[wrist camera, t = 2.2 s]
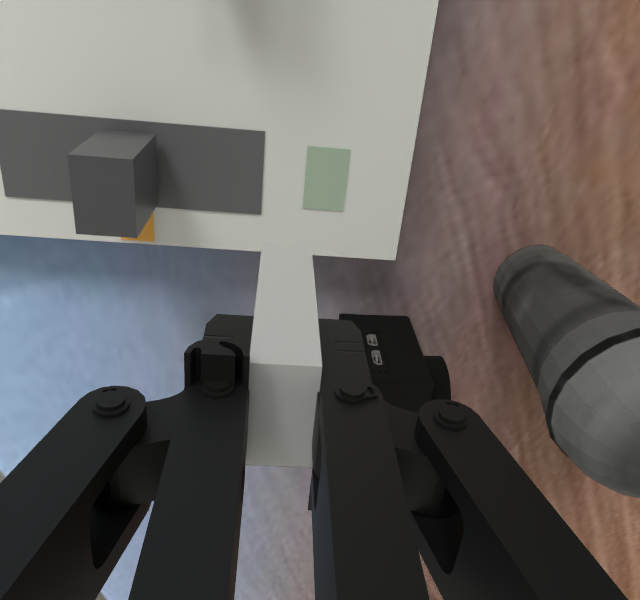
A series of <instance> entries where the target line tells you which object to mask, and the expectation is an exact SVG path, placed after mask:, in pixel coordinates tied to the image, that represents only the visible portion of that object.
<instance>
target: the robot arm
mask: <svg viewBox="0 0 640 600" xmlns="http://www.w3.org/2000/svg"><path fill="white" fill-rule="evenodd" d="M184 371H185V388H184V390H183V391H182V392H180V393H179V394H177V395H174V396H172V397H169V398H165V399H161V400H155V401H149V402H146V401H145V397H144V396H143V395H142V394H141V393H140V392H139V391H138V390H135V389H133V388H130V387H126V386H109V387H103V388H99V389H97V390H94V391H92V392H89V393H88V394H86V395H85V396H84V397H82V398H81V399H80V400H79V401H78V402H77V403H76V404H75V405H74V406H73V407H72V408H71V409H70V410H69V411H68V412H67V413H66V414H65V415H64V417H63V418H62V419H61V420H60V421H59V422H58V423H57V424H56V425H55V426H54V427H53V428H52V429H51V430H50V431H49V432H48V433H47V435H46V436H45V437H44V438H43V439H42V440H41V441H40V442H39V443H38V444H37V445H36V446H35V447H34V448H33V449H32V450H31V451H30V452H29V454H28V455H27V456H26V457H25V458H24V459H23V460H22V461H21V462H20V463H19V464H18V465H17V466H16V467H15V468H14V469H13V470H12V471H11V473H10V474H9V475H8V476H7V477H6V478H5V479H4V480H3V481H2V482H1V483H0V600H95V599H96V597H97V596H98V594H99V592H100V591H101V589H102V587H103V586H104V584H105V582H106V581H107V579H108V577H109V576H110V574H111V572H112V571H113V569H114V567H115V566H116V564H117V562H118V561H119V559H120V557H121V555H122V554H123V552H124V550H125V549H126V547H127V545H128V544H129V542H130V540H131V539H132V537H133V535H134V534H135V532H136V530H137V529H138V527H139V525H140V524H141V522H142V520H143V519H144V517H145V515H146V514H147V512H148V510H149V507H150V504H151V501H154V500H155V501H154V505H153V508H152V512H151V516H150V520H149V523H148V527H147V531H146V535H145V539H144V542H143V546H142V550H141V554H140V557H139V561H138V565H137V569H136V573H135V576H134V580H133V584H132V588H131V591H130V595H129V599H128V600H234V594H235V582H236V571H237V560H238V549H239V537H240V526H241V515H242V504H243V493H244V480H245V465H258V466H285V467H311V463H312V461H313V469H312V477H311V486H310V495H309V504H308V510H312V530H313V555H314V580H315V600H429V595H428V591H427V587H426V582H425V578H424V574H423V569H422V565H421V560H420V556H419V552H420V554H421V556H422V558H423V560H424V562H425V564H426V566H427V568H428V570H429V572H430V574H431V576H432V578H433V580H434V582H435V583H436V585H437V587H438V589H439V591H440V593H441V595H442V597H443V599H444V600H628V599H627V598H626V597H625V595H624V594H623V593H622V592H621V590H620V589H619V588H618V587H617V585H616V584H615V583H614V582H613V581H612V579H611V578H610V577H609V576H608V574H607V573H606V572H605V571H604V569H603V568H602V567H601V566H600V564H599V563H598V562H597V561H596V560H595V558H594V557H593V556H592V555H591V553H590V552H589V551H588V550H587V548H586V547H585V546H584V545H583V543H582V542H581V541H580V540H579V539H578V537H577V536H576V535H575V534H574V532H573V531H572V530H571V529H570V527H569V526H568V525H567V524H566V522H565V521H564V520H563V519H562V518H561V516H560V515H559V514H558V513H557V511H556V510H555V509H554V508H553V506H552V505H551V504H550V503H549V502H548V500H547V499H546V498H545V497H544V495H543V494H542V493H541V492H540V490H539V489H538V488H537V487H536V485H535V484H534V483H533V482H532V481H531V479H530V478H529V477H528V476H527V474H526V473H525V472H524V471H523V469H522V468H521V467H520V466H519V464H518V463H517V462H516V461H515V460H514V458H513V457H512V456H511V455H510V453H509V452H508V451H507V450H506V448H505V447H504V446H503V445H502V443H501V442H500V441H499V440H498V439H497V437H496V436H495V435H494V434H493V432H492V431H491V430H490V429H489V427H488V426H487V425H486V424H485V423H484V421H483V420H482V419H481V418H480V416H479V415H478V414H477V413H475V412H474V411H473V410H472V409H471V408H469V407H467V406H465V405H463V404H461V403H459V402H455V401H451V400H444V399H435V400H432V401H428V402H426V403H425V404H423V405H422V406H421V407H420V410H419V413H416V412H412V411H408V410H405V409H401V408H398V407H395V406H393V405H391V404H389V403H387V402H386V401H384V400H383V395H382V394H381V392H380V390H379V388H378V387H376V386H375V385H374V384H373V383H372V380H371V375H370V371H369V366H368V362H367V357H366V353H365V348H364V344H363V338H362V334H361V330H360V329H359V328H358V327H357V326H356V325H355V324H354V323H353V322H352V321H351V320H333V319H318V312H317V301H316V290H315V279H314V268H313V257H312V246H311V245H296V244H282V243H267V242H262V248H261V257H260V266H259V275H258V284H257V293H256V302H255V311H254V316H240V315H223V314H217V315H216V316H215V317H214V318H212V319H211V320H210V321H209V322H208V323H207V324H206V328H205V332H204V337H203V340H201V341H197V342H195V343H194V344H192V345H190V346H189V347H188V348H187V350H186V351H185V353H184ZM418 550H419V552H418Z"/></svg>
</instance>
